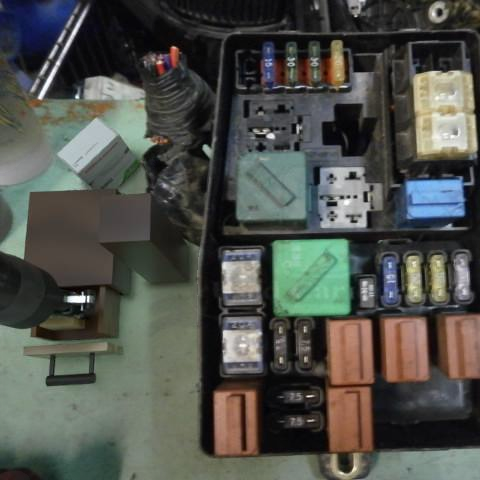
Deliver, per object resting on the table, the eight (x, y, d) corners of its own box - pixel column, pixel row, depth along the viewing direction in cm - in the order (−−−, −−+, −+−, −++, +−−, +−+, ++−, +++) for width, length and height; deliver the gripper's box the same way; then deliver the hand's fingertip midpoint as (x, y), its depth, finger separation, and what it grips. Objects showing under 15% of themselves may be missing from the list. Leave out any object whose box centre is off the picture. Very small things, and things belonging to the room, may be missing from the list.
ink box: (121, 148, 92) (96, 113, 81) (142, 165, 92) (120, 132, 80) (83, 184, 90) (53, 153, 79) (105, 202, 89) (77, 173, 78)
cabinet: (130, 295, 85) (112, 284, 77) (49, 300, 85) (20, 288, 76) (133, 208, 89) (116, 188, 81) (55, 212, 89) (29, 191, 80)
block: (85, 328, 77) (72, 324, 73) (53, 330, 77) (39, 326, 72) (86, 298, 78) (74, 292, 74) (55, 299, 78) (41, 294, 74)
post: (189, 282, 86) (150, 240, 63) (151, 284, 86) (97, 243, 63) (189, 246, 88) (151, 192, 65) (151, 248, 88) (100, 194, 65)
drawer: (122, 383, 81) (105, 381, 74) (43, 388, 80) (19, 387, 73) (126, 267, 86) (111, 256, 79) (52, 271, 85) (30, 260, 78)
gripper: (-62, 328, 59) (15, 343, 76) (72, 320, 60) (119, 337, 77) (-53, 262, 61) (20, 290, 78) (76, 255, 62) (121, 285, 79)
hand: (69, 313), depth 77 cm, fingers closed on block, 4 cm apart
